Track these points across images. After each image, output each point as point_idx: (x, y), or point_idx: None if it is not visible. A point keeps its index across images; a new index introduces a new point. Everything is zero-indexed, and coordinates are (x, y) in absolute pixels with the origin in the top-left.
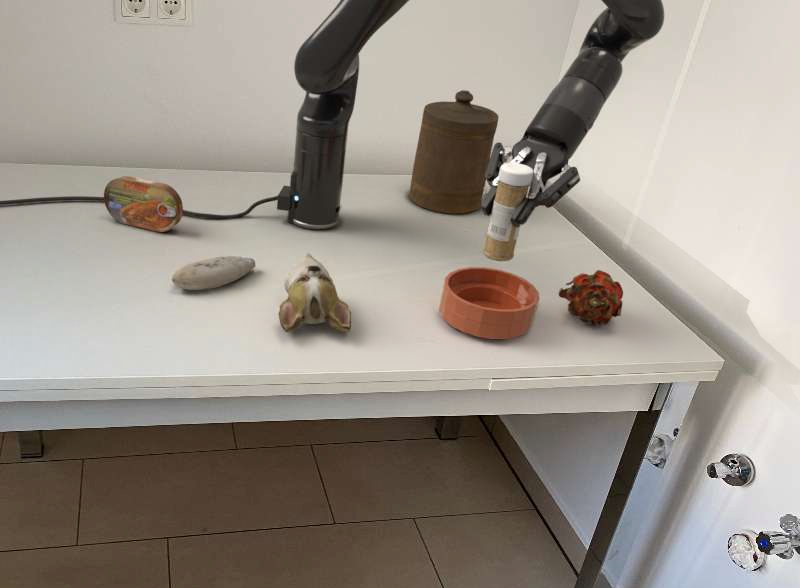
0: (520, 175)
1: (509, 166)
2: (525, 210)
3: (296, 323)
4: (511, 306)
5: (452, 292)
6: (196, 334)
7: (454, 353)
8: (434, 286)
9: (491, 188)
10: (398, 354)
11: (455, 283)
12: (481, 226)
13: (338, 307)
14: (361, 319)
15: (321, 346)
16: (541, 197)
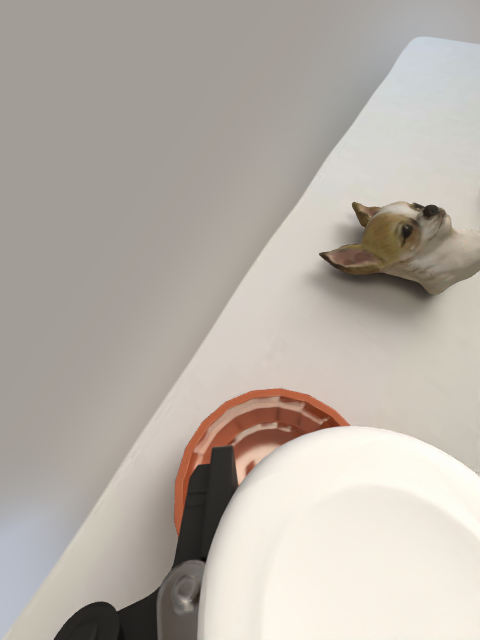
0: (241, 489)
1: (463, 574)
2: (194, 507)
3: (360, 214)
4: None
5: (301, 398)
6: (401, 166)
7: (229, 359)
8: None
9: None
10: (267, 298)
11: None
12: None
13: (368, 258)
14: (363, 314)
15: (326, 241)
16: (127, 631)
